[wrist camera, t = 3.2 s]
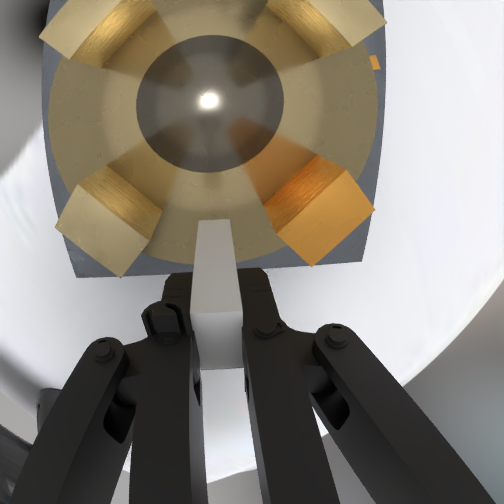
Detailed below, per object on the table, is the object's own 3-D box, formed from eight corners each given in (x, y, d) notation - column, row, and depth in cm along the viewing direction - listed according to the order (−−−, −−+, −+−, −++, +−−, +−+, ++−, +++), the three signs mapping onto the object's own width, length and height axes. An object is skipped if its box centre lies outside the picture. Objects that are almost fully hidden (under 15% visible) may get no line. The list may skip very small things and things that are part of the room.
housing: (89, 257, 20) (75, 279, 17) (70, 1, 9) (51, -10, 7) (346, 243, 23) (362, 262, 20) (360, -8, 12) (381, -20, 9)
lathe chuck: (89, 255, 17) (57, 306, 12) (70, 1, 8) (26, -23, 3) (345, 241, 19) (383, 287, 14) (359, -9, 10) (408, -35, 5)
